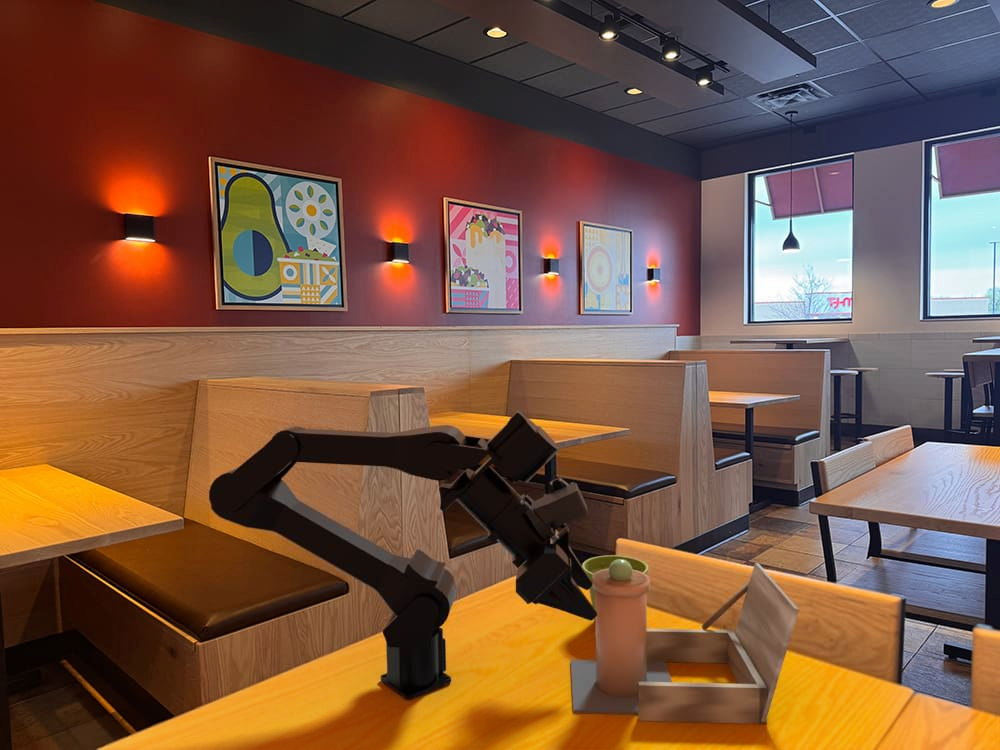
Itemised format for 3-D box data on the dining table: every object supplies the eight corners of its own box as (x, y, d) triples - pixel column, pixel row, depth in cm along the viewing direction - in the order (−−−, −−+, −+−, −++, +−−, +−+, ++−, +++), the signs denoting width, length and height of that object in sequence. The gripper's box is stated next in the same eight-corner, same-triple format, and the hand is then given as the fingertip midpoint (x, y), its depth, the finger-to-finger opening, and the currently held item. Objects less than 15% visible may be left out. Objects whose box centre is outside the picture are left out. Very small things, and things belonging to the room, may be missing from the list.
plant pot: (630, 644, 95) (629, 582, 95) (570, 627, 101) (570, 568, 100) (659, 621, 103) (659, 562, 102) (602, 606, 108) (602, 551, 108)
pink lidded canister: (624, 705, 79) (624, 573, 78) (580, 682, 84) (579, 559, 83) (662, 685, 84) (662, 560, 83) (618, 664, 89) (617, 547, 88)
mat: (573, 712, 78) (573, 710, 78) (570, 661, 90) (570, 659, 90) (682, 715, 78) (682, 712, 78) (665, 663, 90) (665, 661, 89)
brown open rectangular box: (639, 720, 77) (638, 606, 76) (624, 655, 92) (624, 559, 91) (797, 724, 75) (798, 608, 75) (756, 658, 91) (757, 560, 90)
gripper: (546, 479, 74) (652, 584, 74) (548, 448, 92) (632, 532, 92) (472, 551, 75) (576, 655, 75) (488, 507, 93) (571, 590, 93)
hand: (592, 601), depth 84 cm, fingers open, 9 cm apart
